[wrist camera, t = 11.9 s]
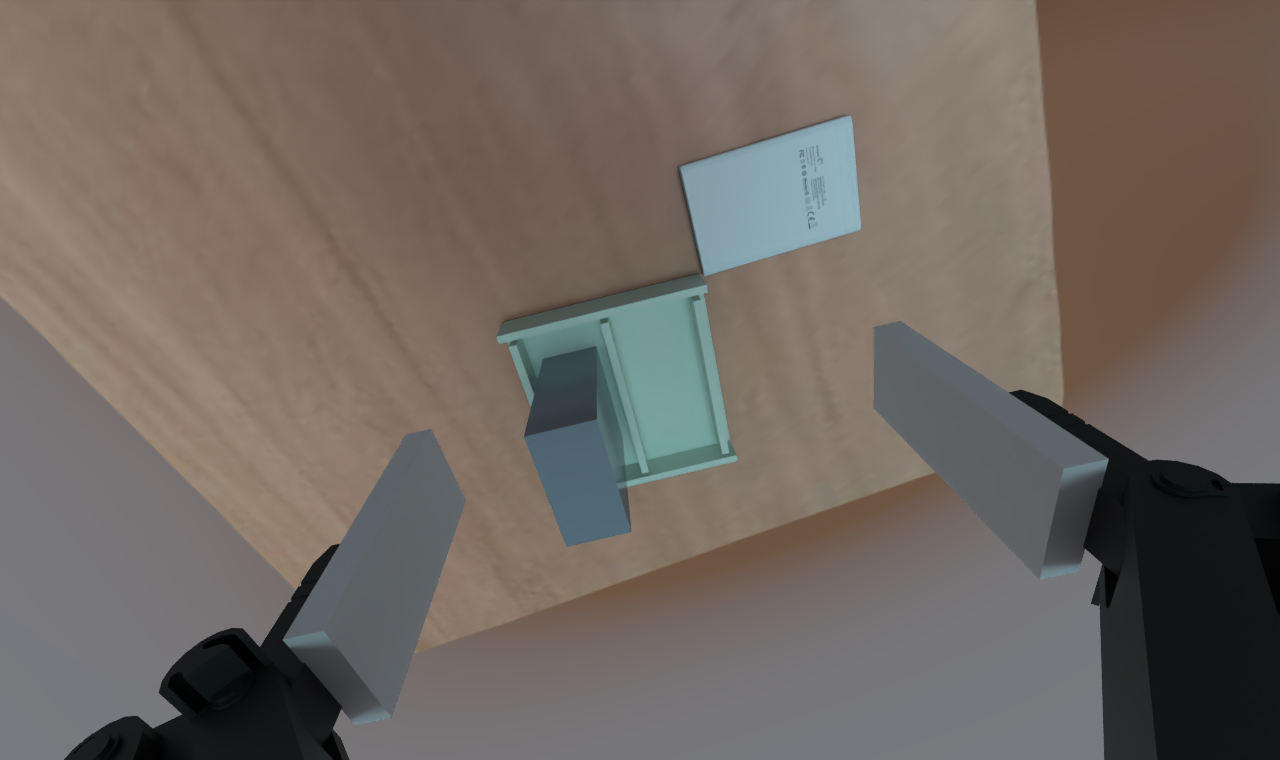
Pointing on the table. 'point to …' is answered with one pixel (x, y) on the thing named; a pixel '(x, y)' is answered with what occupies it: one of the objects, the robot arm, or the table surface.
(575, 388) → the blue-grey rectangular block
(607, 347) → the green divided tray
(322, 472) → the table surface
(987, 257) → the table surface
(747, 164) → the external hard drive
